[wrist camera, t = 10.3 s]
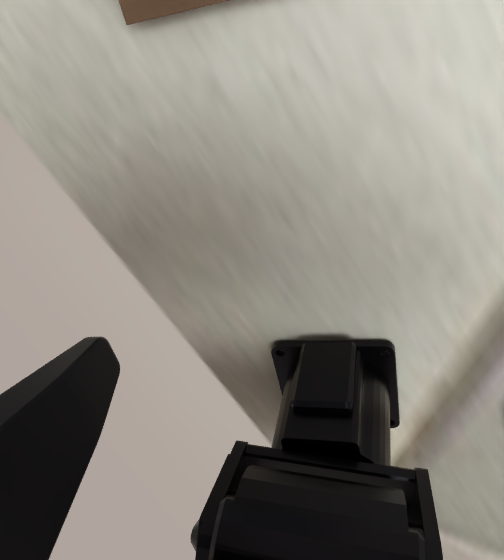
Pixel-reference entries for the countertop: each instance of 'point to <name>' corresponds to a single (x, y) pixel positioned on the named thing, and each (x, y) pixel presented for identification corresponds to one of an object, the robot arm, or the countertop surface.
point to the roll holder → (158, 8)
